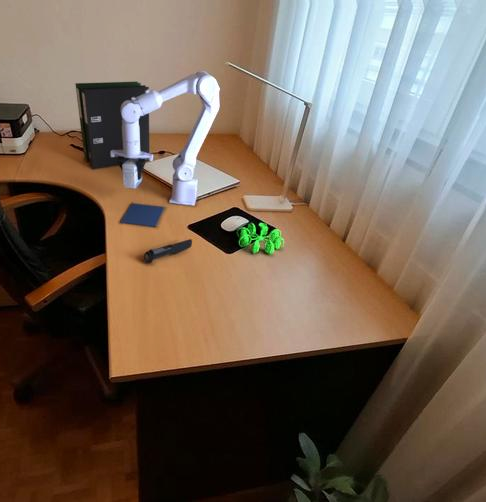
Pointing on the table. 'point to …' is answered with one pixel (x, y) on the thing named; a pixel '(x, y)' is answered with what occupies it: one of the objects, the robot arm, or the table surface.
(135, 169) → the medicine box
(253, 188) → the table surface
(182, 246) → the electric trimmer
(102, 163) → the binder
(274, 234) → the green cluster
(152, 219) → the cloth
